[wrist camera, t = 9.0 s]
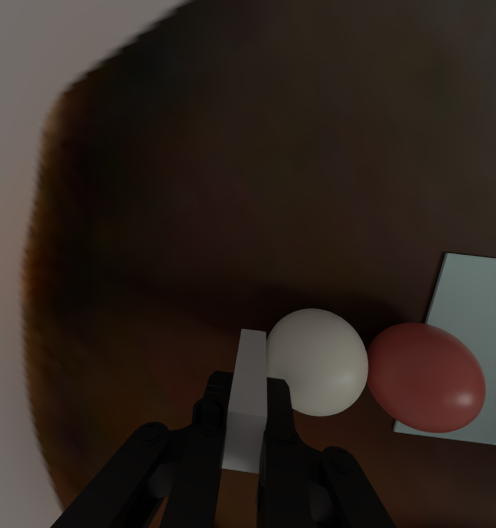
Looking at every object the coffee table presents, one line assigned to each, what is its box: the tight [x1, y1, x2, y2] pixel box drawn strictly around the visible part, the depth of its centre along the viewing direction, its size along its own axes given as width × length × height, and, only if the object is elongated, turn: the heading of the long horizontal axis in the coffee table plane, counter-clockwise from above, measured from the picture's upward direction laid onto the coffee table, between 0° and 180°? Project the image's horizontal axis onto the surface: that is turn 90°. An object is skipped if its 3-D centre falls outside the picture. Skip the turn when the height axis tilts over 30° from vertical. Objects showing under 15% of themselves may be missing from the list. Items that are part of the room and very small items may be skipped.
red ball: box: [366, 323, 486, 433], centre depth 16 cm, size 6×6×6 cm
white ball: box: [266, 309, 368, 416], centre depth 16 cm, size 6×6×6 cm
